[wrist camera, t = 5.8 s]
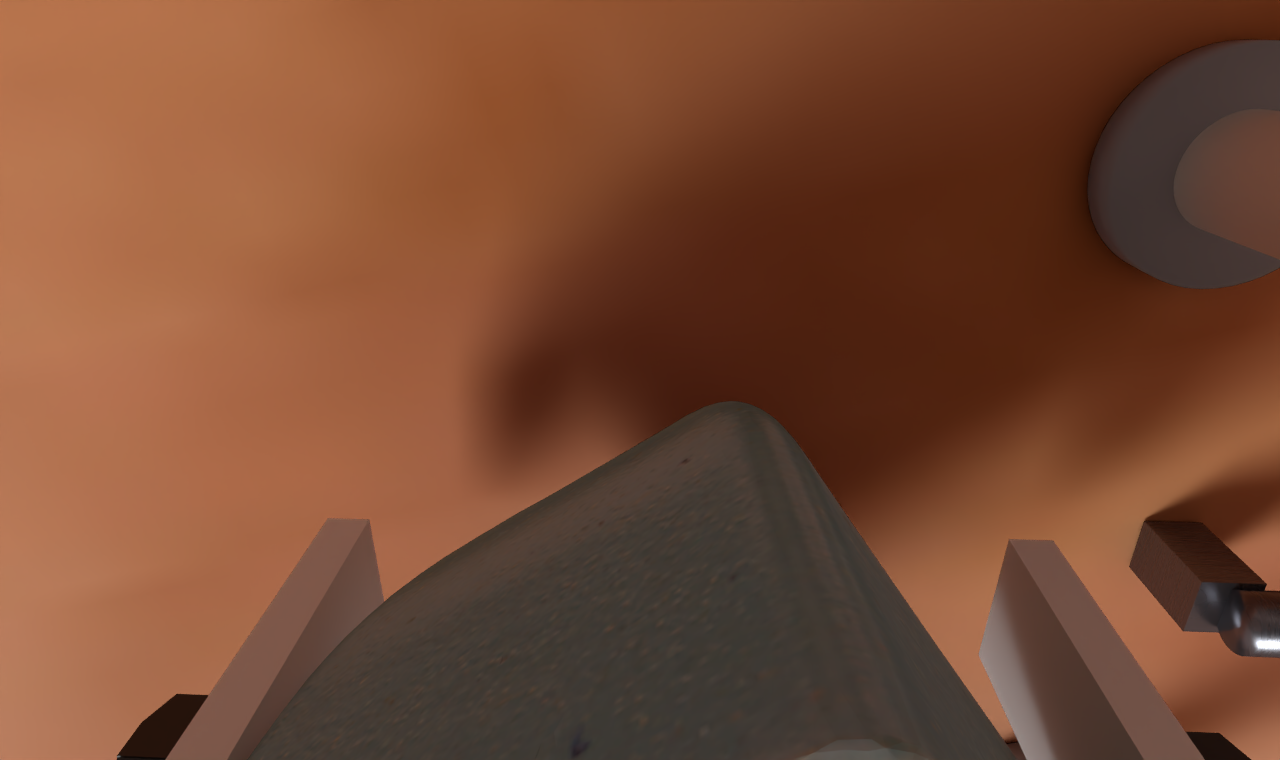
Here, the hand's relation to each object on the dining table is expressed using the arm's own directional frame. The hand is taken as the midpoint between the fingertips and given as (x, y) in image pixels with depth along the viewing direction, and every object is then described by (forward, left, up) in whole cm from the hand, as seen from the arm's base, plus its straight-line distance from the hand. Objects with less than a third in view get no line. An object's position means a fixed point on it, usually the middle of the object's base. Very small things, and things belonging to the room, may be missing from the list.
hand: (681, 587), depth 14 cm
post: (+9, +7, -3) cm, 12 cm away
